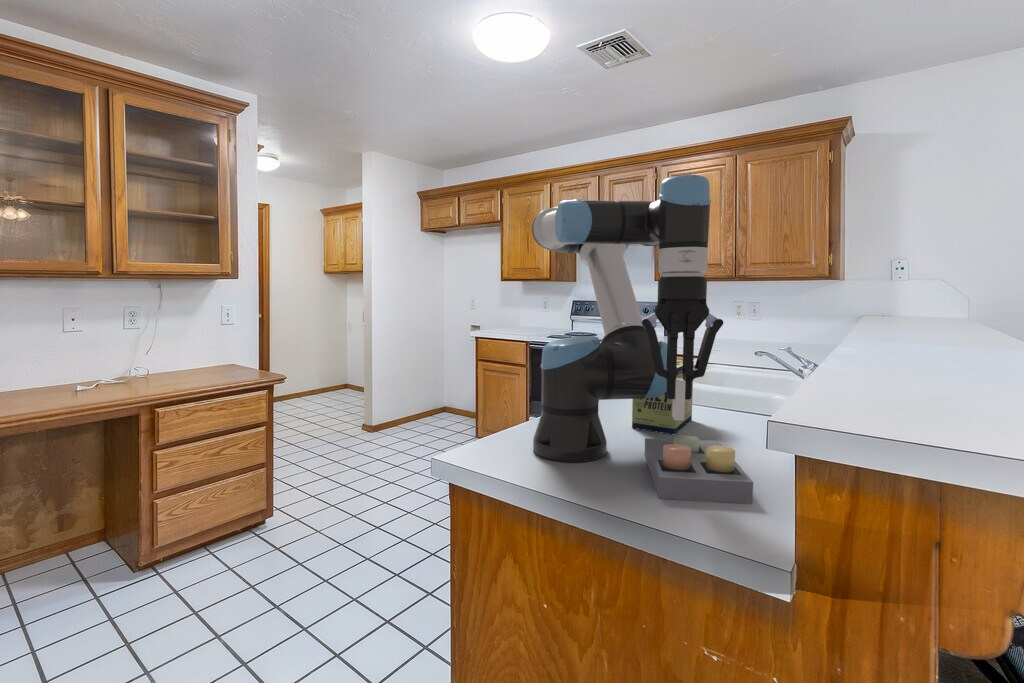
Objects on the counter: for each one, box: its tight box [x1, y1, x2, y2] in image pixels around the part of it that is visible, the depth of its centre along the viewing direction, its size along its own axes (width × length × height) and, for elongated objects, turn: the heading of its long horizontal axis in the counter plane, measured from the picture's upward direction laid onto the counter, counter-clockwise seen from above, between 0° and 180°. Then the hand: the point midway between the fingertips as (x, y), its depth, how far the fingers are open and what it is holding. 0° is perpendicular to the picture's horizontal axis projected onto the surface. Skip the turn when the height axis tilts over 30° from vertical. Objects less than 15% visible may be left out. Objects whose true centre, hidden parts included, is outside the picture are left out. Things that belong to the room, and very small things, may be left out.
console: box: [643, 437, 754, 505], centre depth 88 cm, size 14×21×4 cm, turn 171°
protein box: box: [631, 358, 695, 435], centre depth 122 cm, size 10×16×16 cm
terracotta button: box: [663, 444, 691, 470], centre depth 83 cm, size 4×4×3 cm
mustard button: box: [706, 445, 736, 472], centre depth 82 cm, size 4×4×3 cm
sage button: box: [673, 434, 700, 453], centre depth 93 cm, size 4×4×3 cm
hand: (678, 418), depth 83 cm, fingers closed
